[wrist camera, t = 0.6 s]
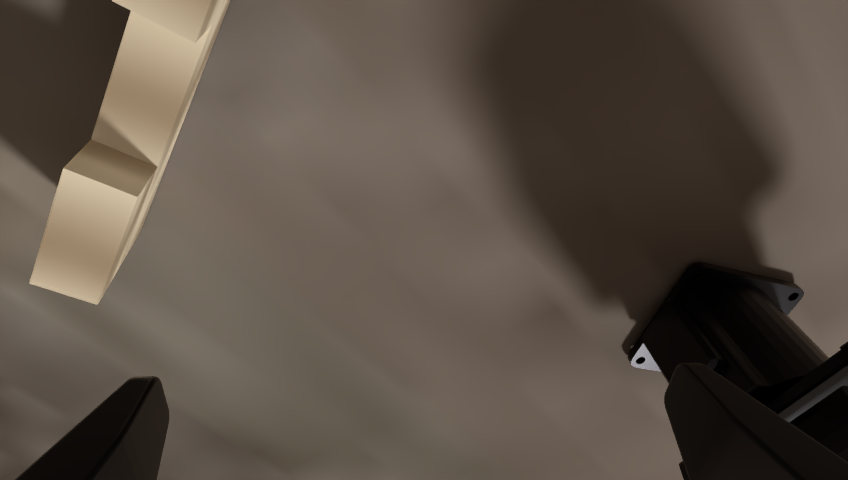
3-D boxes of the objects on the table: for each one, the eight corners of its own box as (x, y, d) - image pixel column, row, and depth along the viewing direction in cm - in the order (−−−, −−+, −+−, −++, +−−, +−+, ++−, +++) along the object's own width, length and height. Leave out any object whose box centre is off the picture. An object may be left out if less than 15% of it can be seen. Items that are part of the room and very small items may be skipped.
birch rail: (215, -185, 15) (171, -203, 11) (284, -139, 16) (264, -142, 12) (86, 210, 21) (29, 283, 17) (140, 231, 22) (97, 305, 18)
